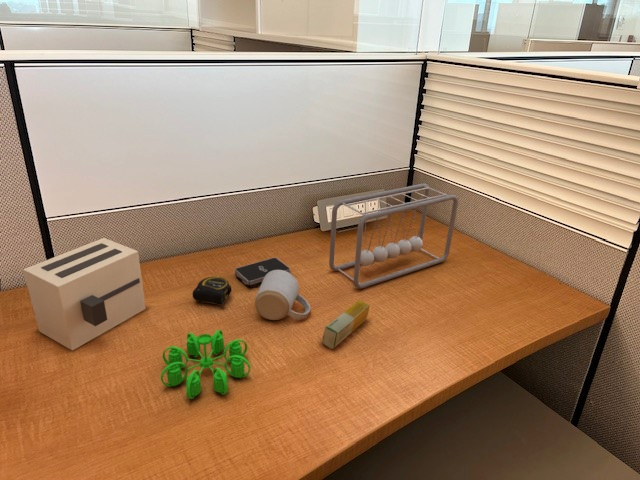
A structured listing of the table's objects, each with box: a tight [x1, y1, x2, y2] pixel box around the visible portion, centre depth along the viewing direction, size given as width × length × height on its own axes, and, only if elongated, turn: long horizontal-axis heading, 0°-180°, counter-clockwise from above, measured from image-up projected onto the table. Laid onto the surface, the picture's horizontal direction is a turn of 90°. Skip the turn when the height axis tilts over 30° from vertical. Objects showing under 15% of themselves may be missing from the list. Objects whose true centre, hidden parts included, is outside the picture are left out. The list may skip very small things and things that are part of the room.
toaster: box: [23, 237, 146, 351], centre depth 89 cm, size 10×16×13 cm, turn 149°
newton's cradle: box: [328, 183, 459, 290], centre depth 113 cm, size 30×10×18 cm, turn 124°
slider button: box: [80, 295, 107, 326], centre depth 83 cm, size 3×2×4 cm
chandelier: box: [160, 329, 251, 400], centre depth 79 cm, size 15×15×7 cm
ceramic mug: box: [254, 270, 311, 321], centre depth 95 cm, size 11×8×8 cm
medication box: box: [321, 299, 371, 350], centre depth 91 cm, size 12×3×4 cm, turn 144°
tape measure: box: [192, 276, 232, 306], centre depth 100 cm, size 7×7×4 cm
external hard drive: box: [234, 257, 291, 288], centre depth 109 cm, size 7×11×2 cm, turn 126°
